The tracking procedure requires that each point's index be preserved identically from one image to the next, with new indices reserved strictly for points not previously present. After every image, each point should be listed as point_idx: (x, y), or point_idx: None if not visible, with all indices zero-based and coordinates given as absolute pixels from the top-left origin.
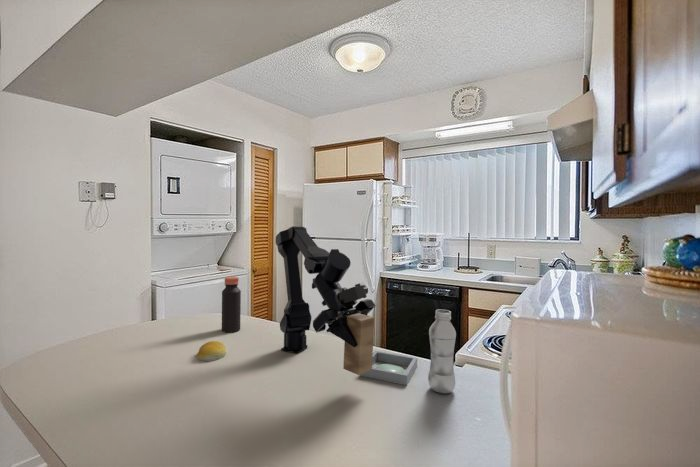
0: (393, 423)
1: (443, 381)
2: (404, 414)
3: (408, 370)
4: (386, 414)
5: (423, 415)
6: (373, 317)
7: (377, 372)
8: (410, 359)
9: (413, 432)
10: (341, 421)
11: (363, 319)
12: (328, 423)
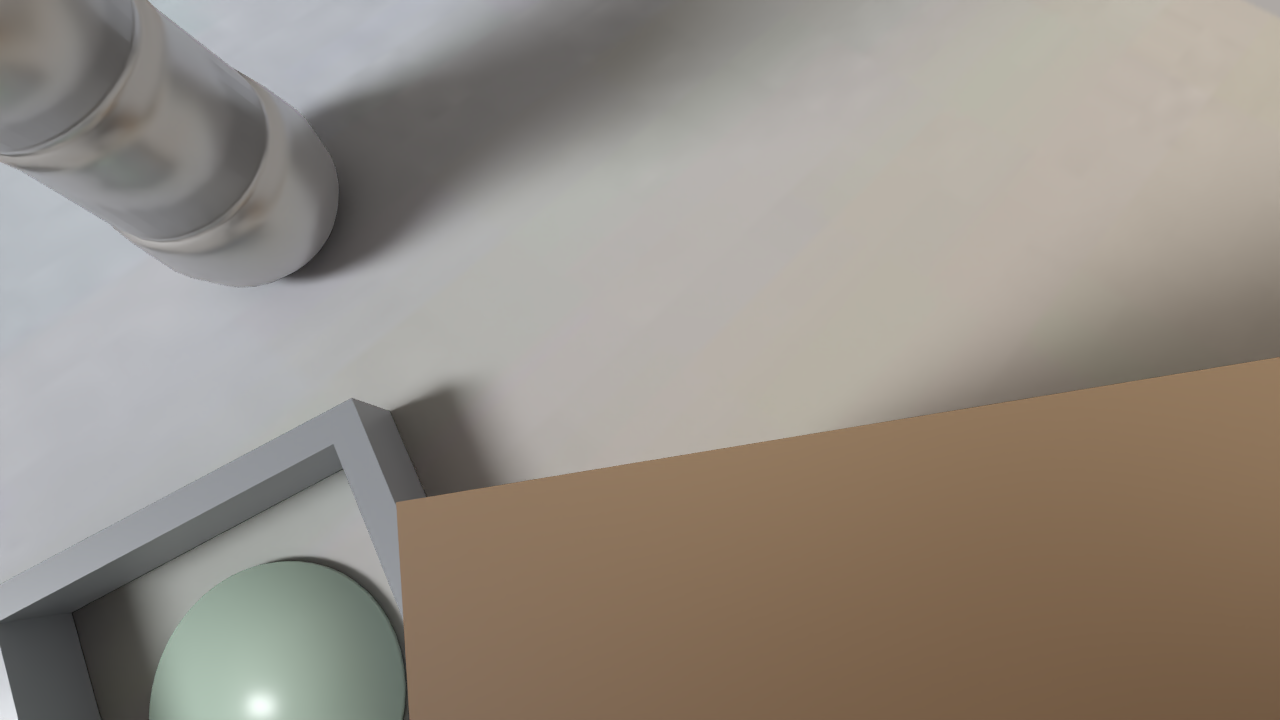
0: (841, 129)
1: (281, 100)
2: (711, 158)
3: (258, 461)
4: (808, 219)
5: (624, 90)
6: (451, 493)
7: None
8: (17, 646)
9: (806, 14)
10: (1130, 327)
11: (1182, 445)
12: (1228, 360)
